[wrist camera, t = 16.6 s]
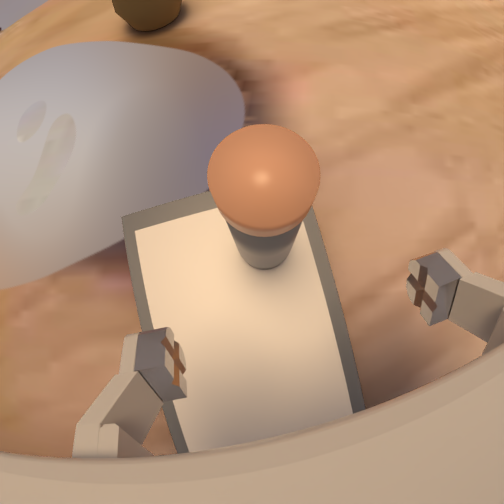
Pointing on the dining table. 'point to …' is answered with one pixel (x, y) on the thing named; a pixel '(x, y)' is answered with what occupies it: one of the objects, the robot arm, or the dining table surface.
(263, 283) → the writing board
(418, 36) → the dining table surface
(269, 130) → the marker
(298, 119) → the dining table surface
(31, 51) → the dining table surface
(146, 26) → the squeeze bottle
